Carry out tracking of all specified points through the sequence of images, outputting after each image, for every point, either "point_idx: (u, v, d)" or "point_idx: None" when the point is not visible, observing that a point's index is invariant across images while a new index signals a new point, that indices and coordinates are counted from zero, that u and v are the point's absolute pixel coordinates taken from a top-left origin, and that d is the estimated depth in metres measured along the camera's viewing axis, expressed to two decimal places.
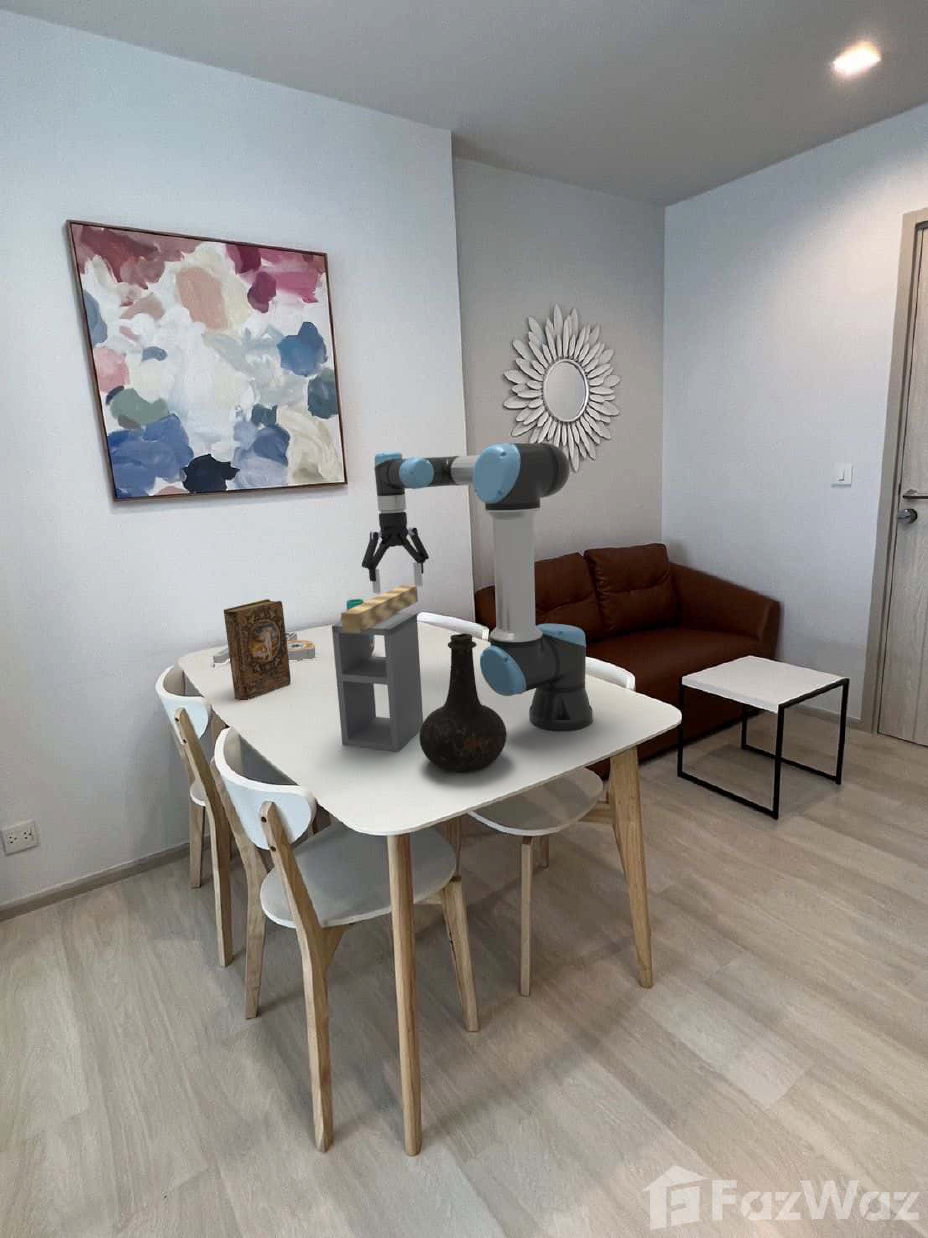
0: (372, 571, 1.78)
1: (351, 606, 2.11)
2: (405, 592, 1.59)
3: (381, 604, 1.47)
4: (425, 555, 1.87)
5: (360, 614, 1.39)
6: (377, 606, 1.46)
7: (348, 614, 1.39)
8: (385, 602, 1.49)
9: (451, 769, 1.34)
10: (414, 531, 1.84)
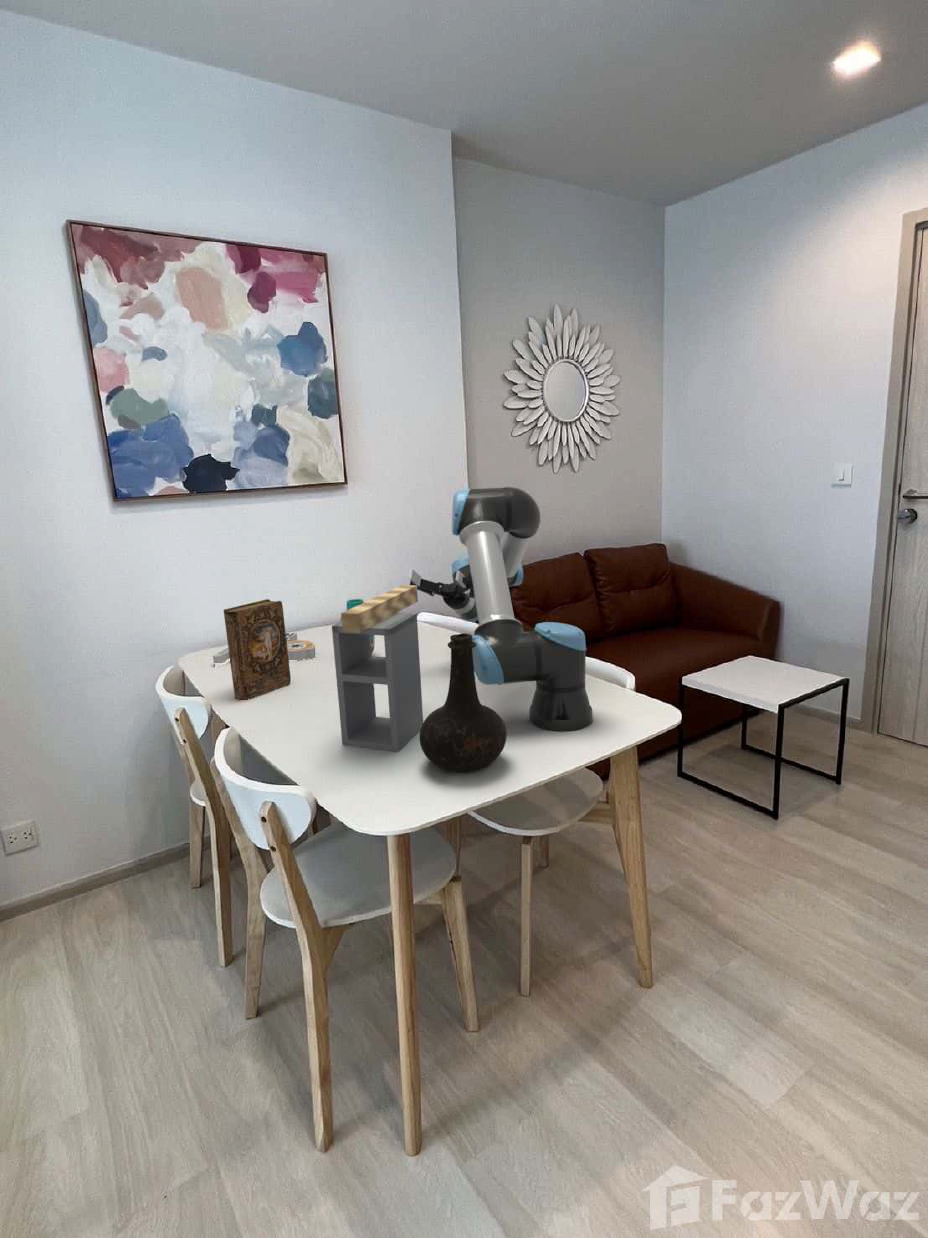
0: None
1: (351, 606, 2.11)
2: (405, 592, 1.59)
3: (381, 604, 1.47)
4: None
5: (360, 614, 1.39)
6: (377, 606, 1.46)
7: (348, 614, 1.39)
8: (385, 602, 1.49)
9: (451, 769, 1.34)
10: None
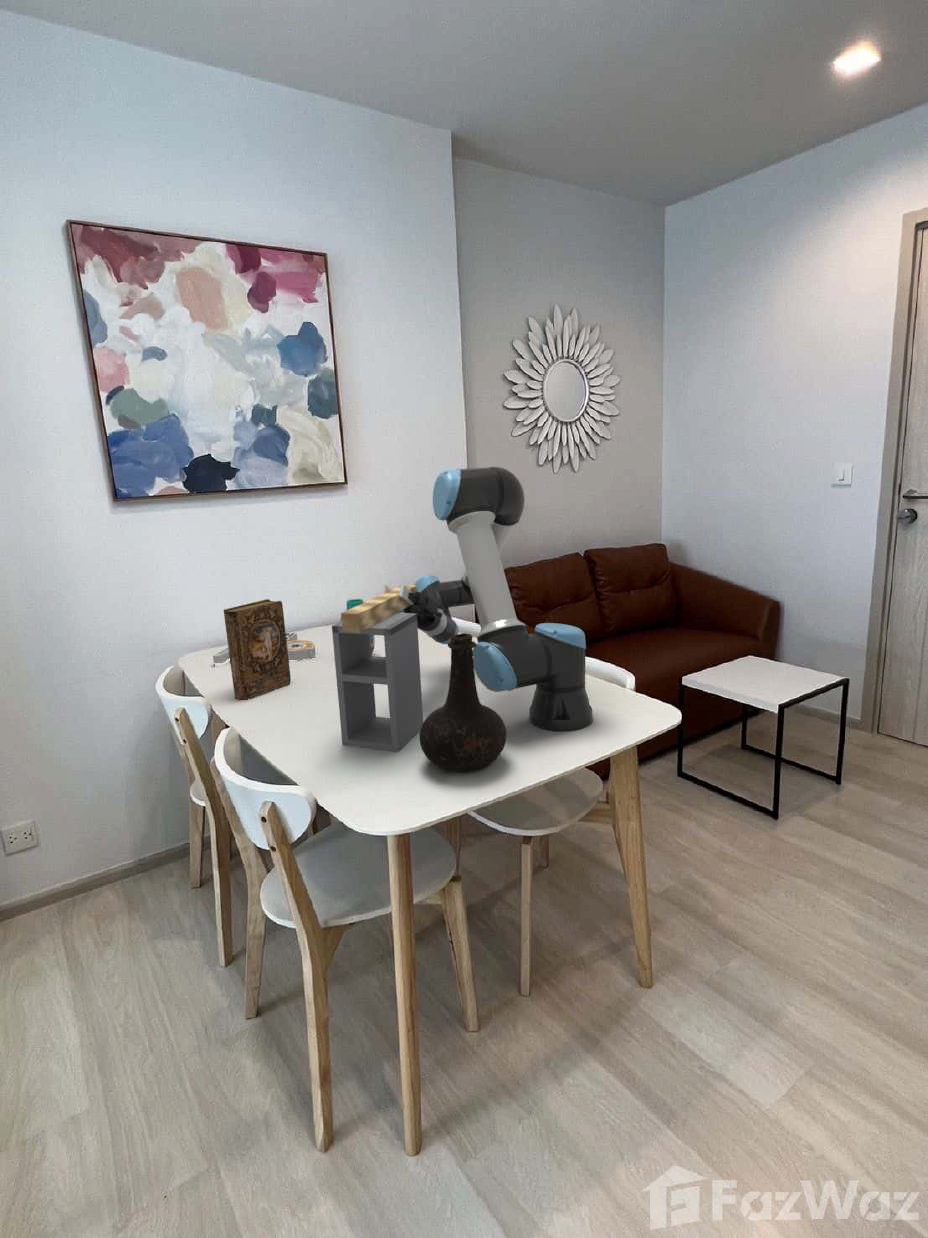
0: None
1: (351, 606, 2.11)
2: None
3: (381, 604, 1.47)
4: None
5: (360, 614, 1.39)
6: (377, 606, 1.46)
7: (348, 614, 1.39)
8: (385, 602, 1.49)
9: (451, 769, 1.34)
10: None
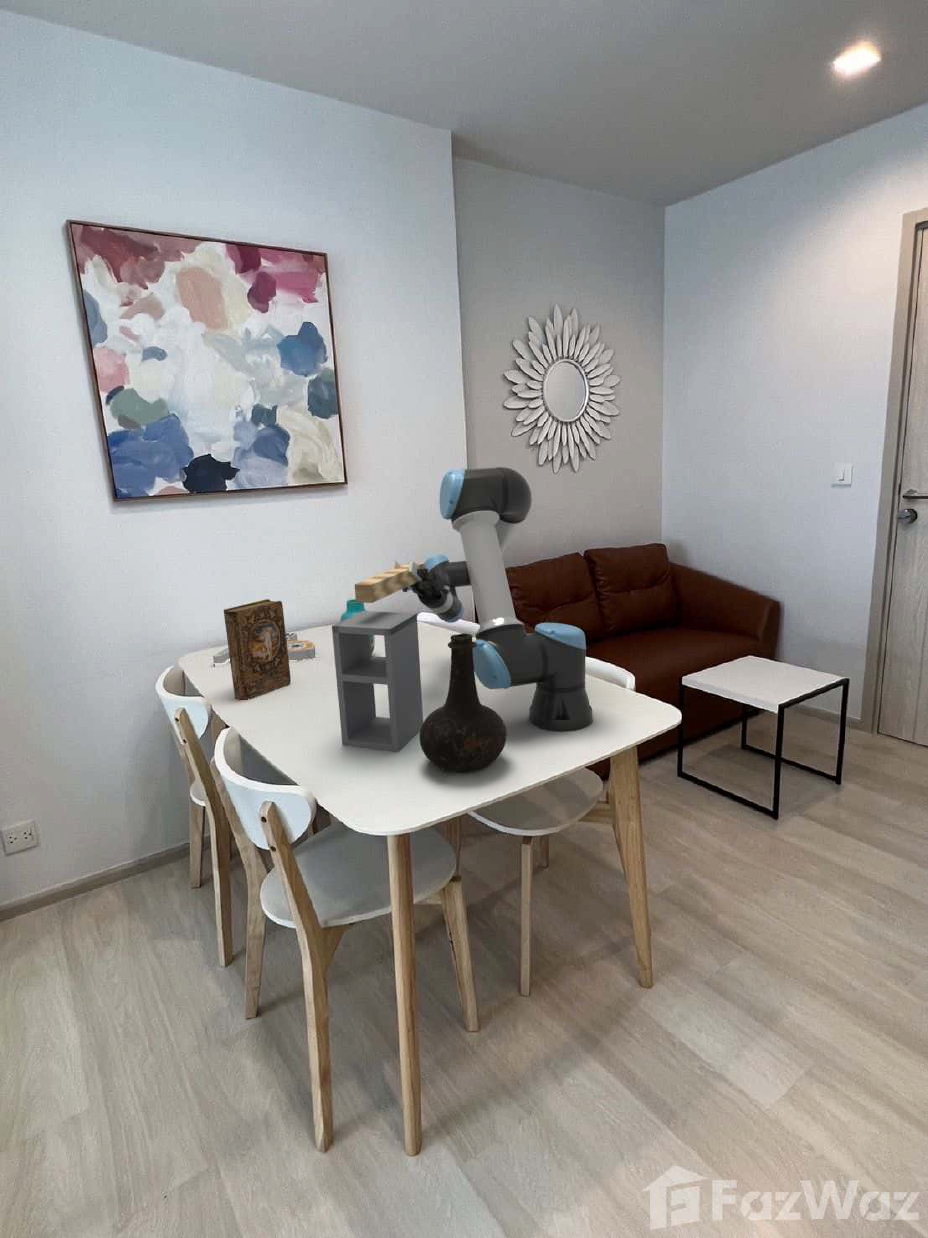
0: None
1: (351, 606, 2.11)
2: None
3: (392, 577, 1.54)
4: None
5: (373, 585, 1.45)
6: (388, 579, 1.52)
7: (361, 585, 1.45)
8: (395, 576, 1.56)
9: (451, 769, 1.34)
10: None
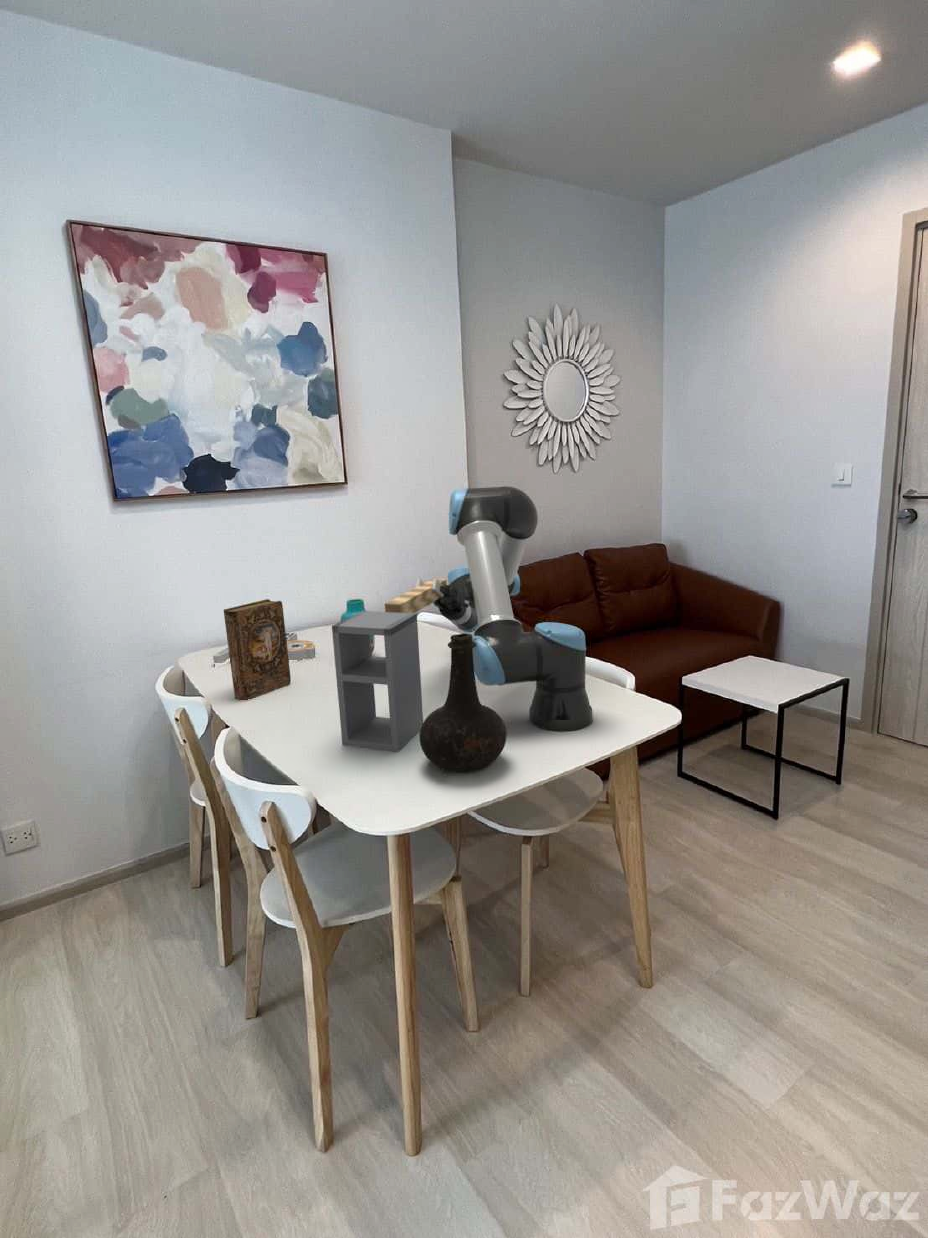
0: None
1: (351, 606, 2.11)
2: None
3: (418, 596, 1.66)
4: None
5: (401, 605, 1.58)
6: (415, 598, 1.65)
7: (391, 605, 1.58)
8: (421, 594, 1.68)
9: (451, 769, 1.34)
10: None
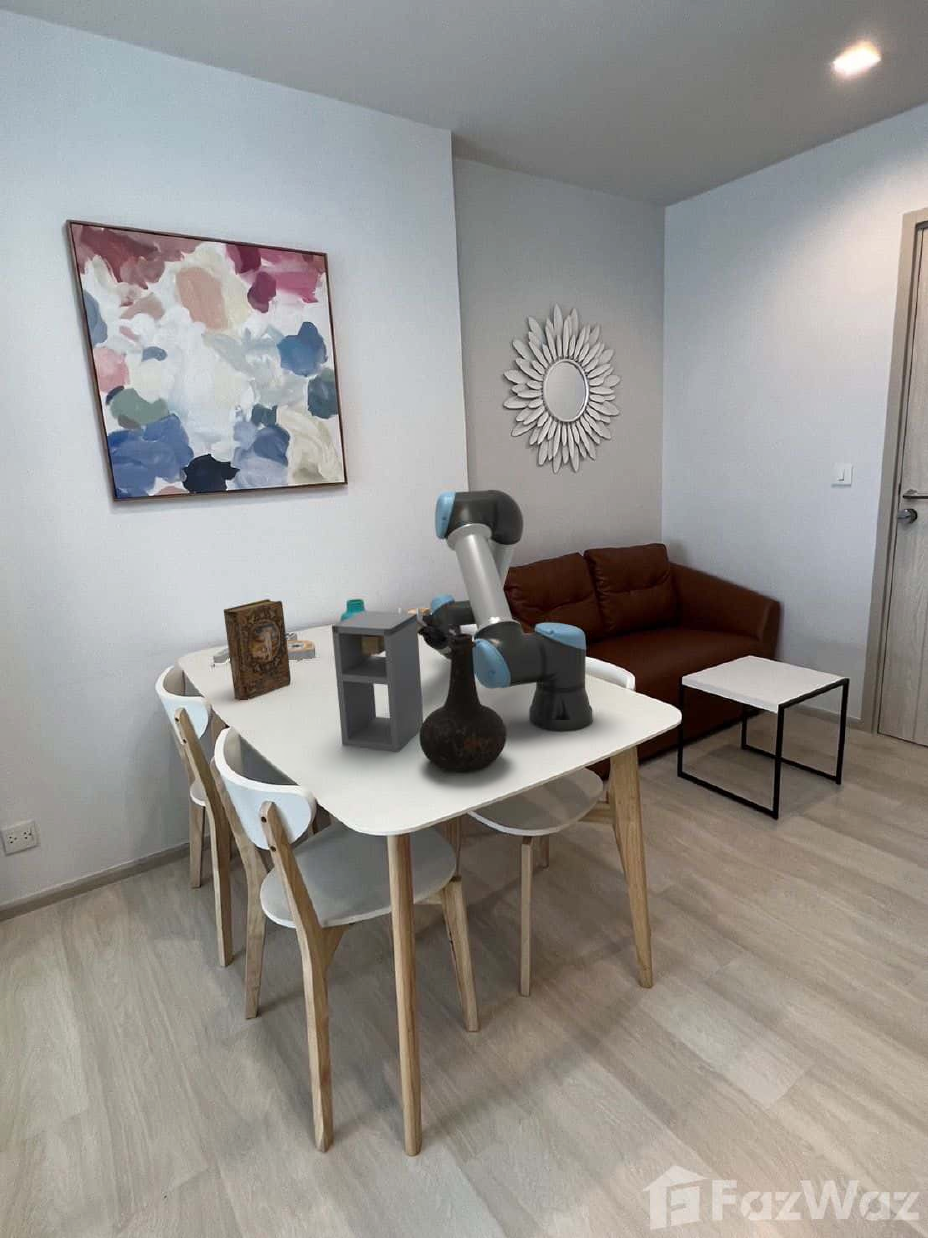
0: None
1: (351, 606, 2.11)
2: None
3: None
4: None
5: (379, 637, 1.50)
6: None
7: (368, 637, 1.50)
8: None
9: (451, 769, 1.34)
10: None
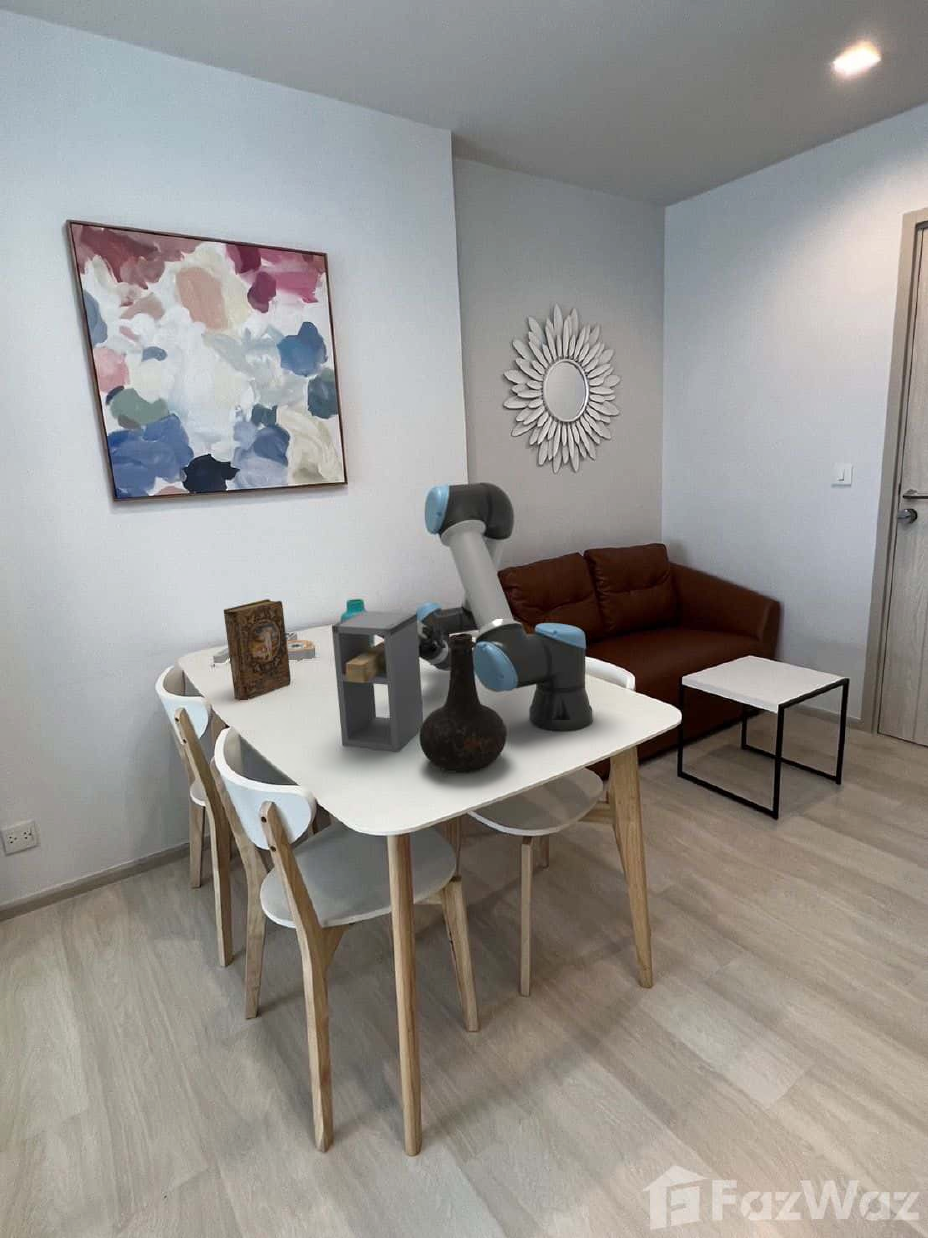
0: None
1: (351, 606, 2.11)
2: None
3: None
4: None
5: (364, 665, 1.41)
6: (381, 654, 1.48)
7: (352, 665, 1.41)
8: None
9: (451, 769, 1.34)
10: None
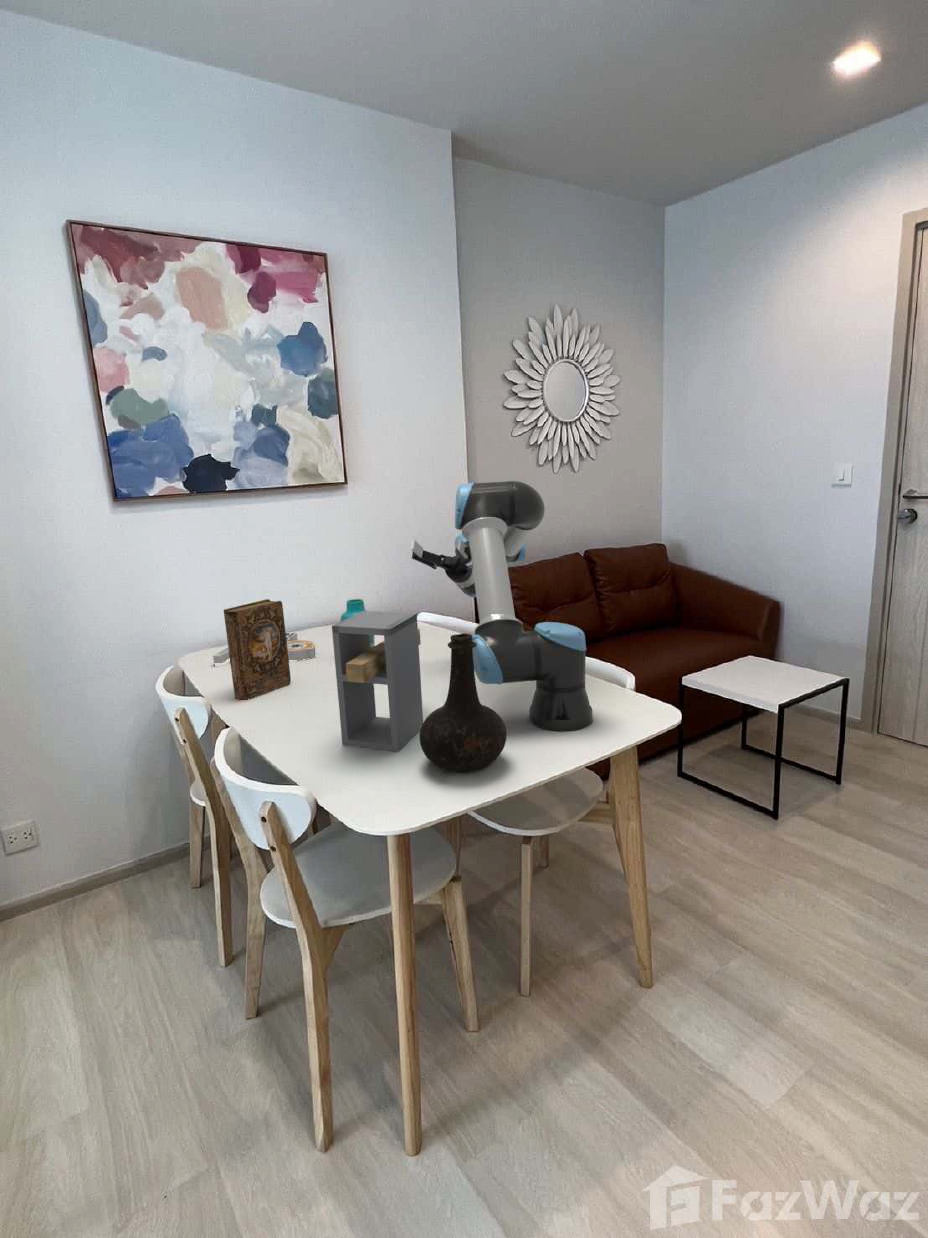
0: None
1: (351, 606, 2.11)
2: None
3: None
4: None
5: (364, 665, 1.41)
6: (381, 654, 1.48)
7: (352, 665, 1.41)
8: None
9: (451, 769, 1.34)
10: None
